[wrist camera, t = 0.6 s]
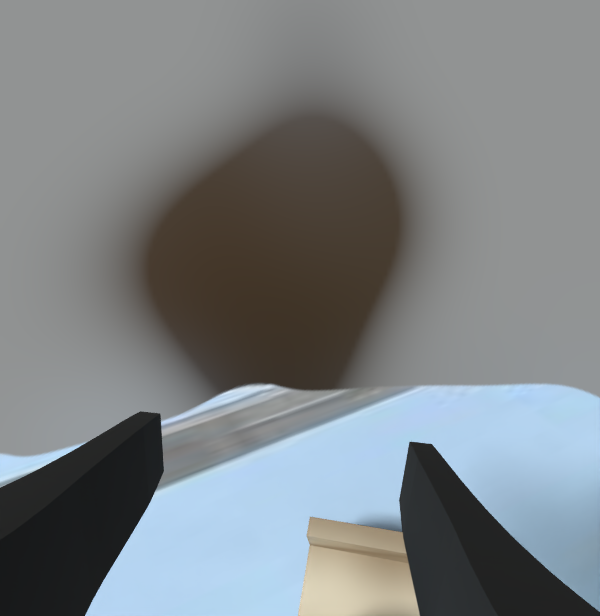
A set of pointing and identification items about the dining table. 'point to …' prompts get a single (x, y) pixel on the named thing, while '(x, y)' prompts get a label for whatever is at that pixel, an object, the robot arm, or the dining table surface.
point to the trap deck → (356, 572)
